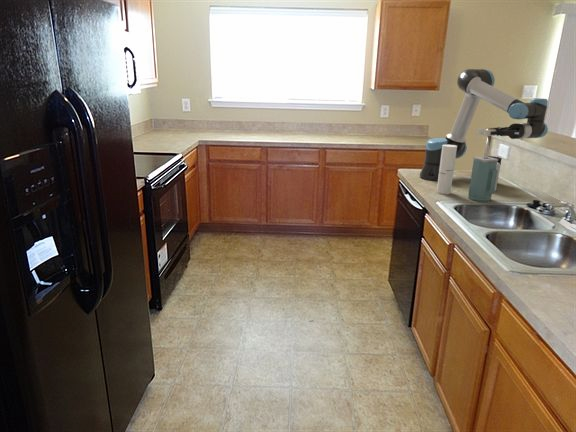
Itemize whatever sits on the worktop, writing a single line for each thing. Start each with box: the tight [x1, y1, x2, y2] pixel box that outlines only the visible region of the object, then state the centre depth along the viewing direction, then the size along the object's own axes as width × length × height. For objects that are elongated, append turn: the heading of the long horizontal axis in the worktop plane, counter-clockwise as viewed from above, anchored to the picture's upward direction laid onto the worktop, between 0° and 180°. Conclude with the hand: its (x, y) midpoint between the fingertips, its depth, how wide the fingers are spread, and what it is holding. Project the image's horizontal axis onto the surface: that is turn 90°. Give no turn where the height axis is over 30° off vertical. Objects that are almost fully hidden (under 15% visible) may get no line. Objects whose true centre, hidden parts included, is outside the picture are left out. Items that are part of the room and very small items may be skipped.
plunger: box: [483, 129, 495, 159], centre depth 215 cm, size 7×7×25 cm
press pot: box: [467, 155, 498, 203], centre depth 217 cm, size 13×11×21 cm
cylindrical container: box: [436, 145, 457, 195], centre depth 229 cm, size 7×7×25 cm
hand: (481, 132), depth 209 cm, fingers closed on plunger, 4 cm apart
